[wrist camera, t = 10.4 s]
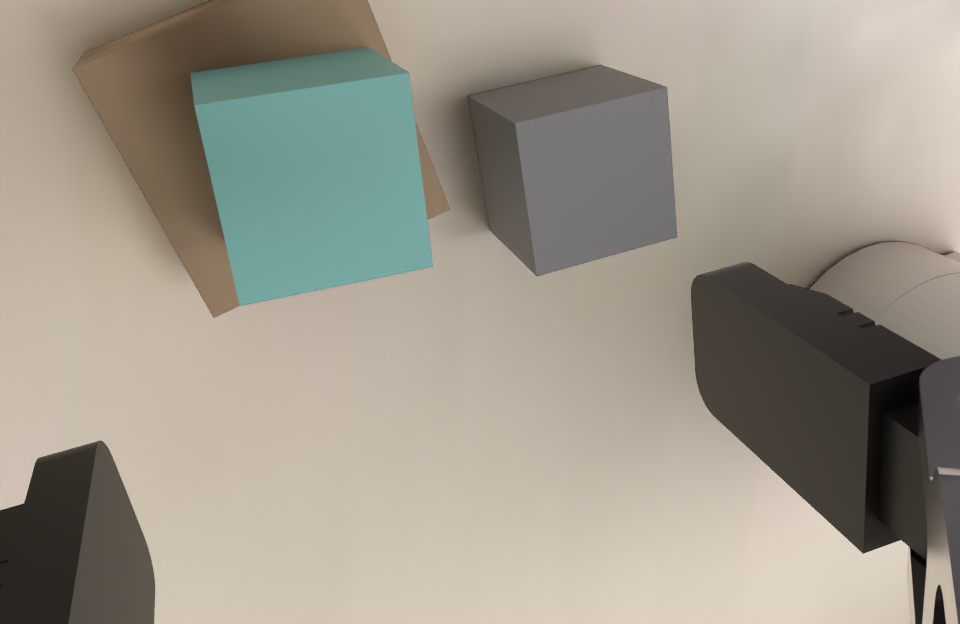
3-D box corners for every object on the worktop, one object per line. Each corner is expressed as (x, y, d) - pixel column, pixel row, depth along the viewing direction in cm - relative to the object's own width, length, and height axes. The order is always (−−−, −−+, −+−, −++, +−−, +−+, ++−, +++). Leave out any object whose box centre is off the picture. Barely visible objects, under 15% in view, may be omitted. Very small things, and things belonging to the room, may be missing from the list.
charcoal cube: (599, 64, 32) (667, 87, 28) (613, 197, 34) (677, 237, 30) (466, 95, 31) (514, 123, 27) (489, 229, 33) (536, 276, 29)
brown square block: (327, -50, 28) (349, -46, 25) (419, 178, 32) (450, 209, 29) (85, 50, 28) (72, 69, 24) (209, 273, 31) (213, 317, 28)
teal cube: (369, 47, 26) (409, 72, 22) (392, 212, 28) (433, 266, 24) (190, 72, 25) (194, 105, 20) (228, 243, 27) (239, 305, 23)
